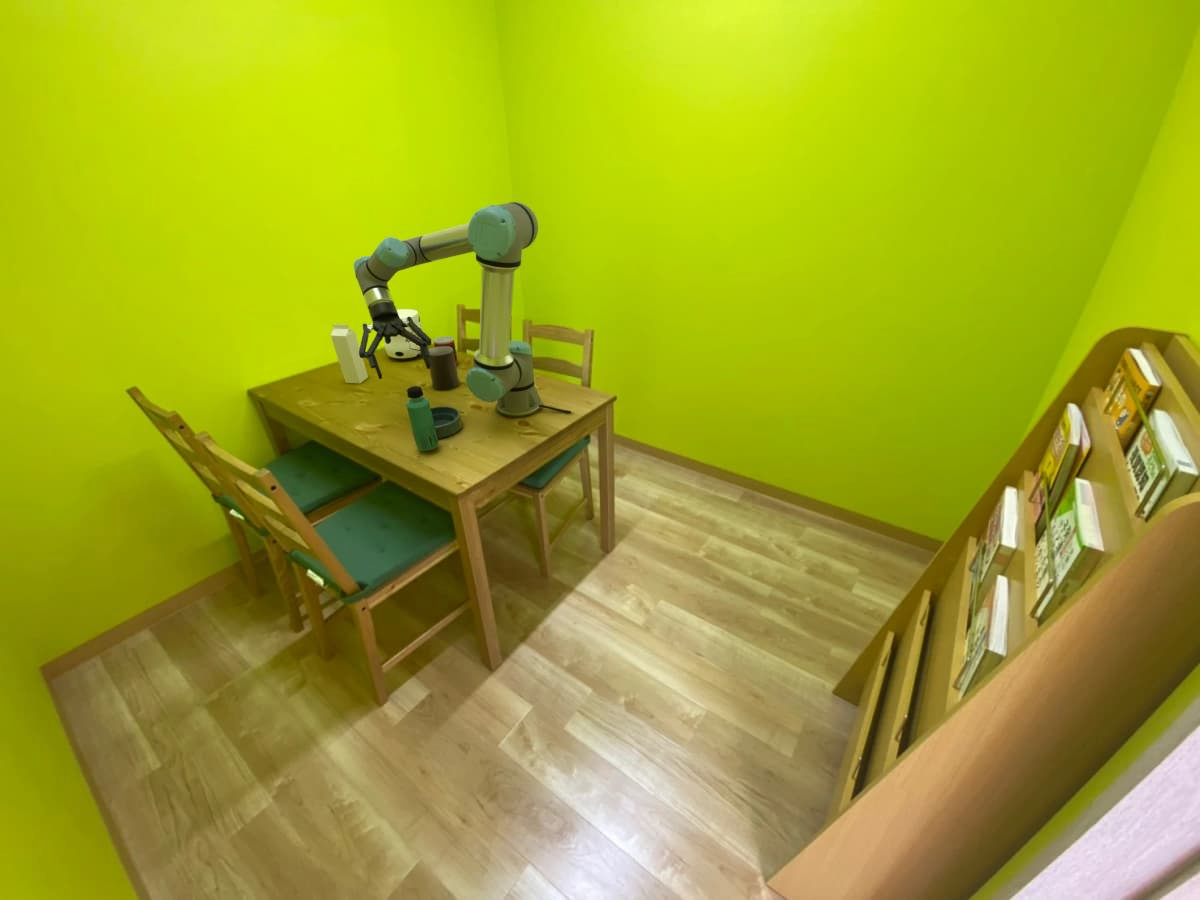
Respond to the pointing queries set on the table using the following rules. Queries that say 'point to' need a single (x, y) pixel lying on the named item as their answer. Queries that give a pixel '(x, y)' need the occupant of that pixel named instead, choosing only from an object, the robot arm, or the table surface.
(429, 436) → the beverage bottle
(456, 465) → the table surface
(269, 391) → the table surface
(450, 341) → the canned food
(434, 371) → the pillar candle
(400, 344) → the milk container
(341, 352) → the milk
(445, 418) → the dish
